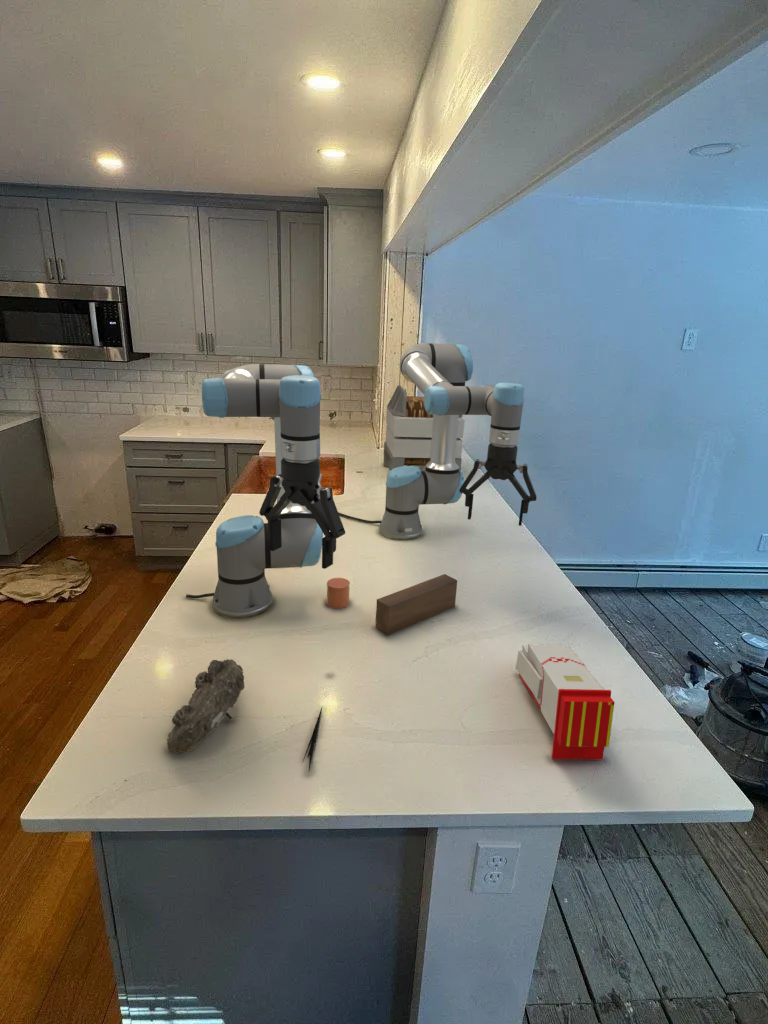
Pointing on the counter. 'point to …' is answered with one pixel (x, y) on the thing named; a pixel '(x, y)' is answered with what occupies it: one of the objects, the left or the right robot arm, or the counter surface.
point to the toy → (568, 700)
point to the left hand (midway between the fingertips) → (301, 557)
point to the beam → (415, 604)
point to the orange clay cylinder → (338, 592)
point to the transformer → (411, 432)
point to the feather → (313, 740)
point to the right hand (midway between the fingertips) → (494, 521)
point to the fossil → (206, 705)
